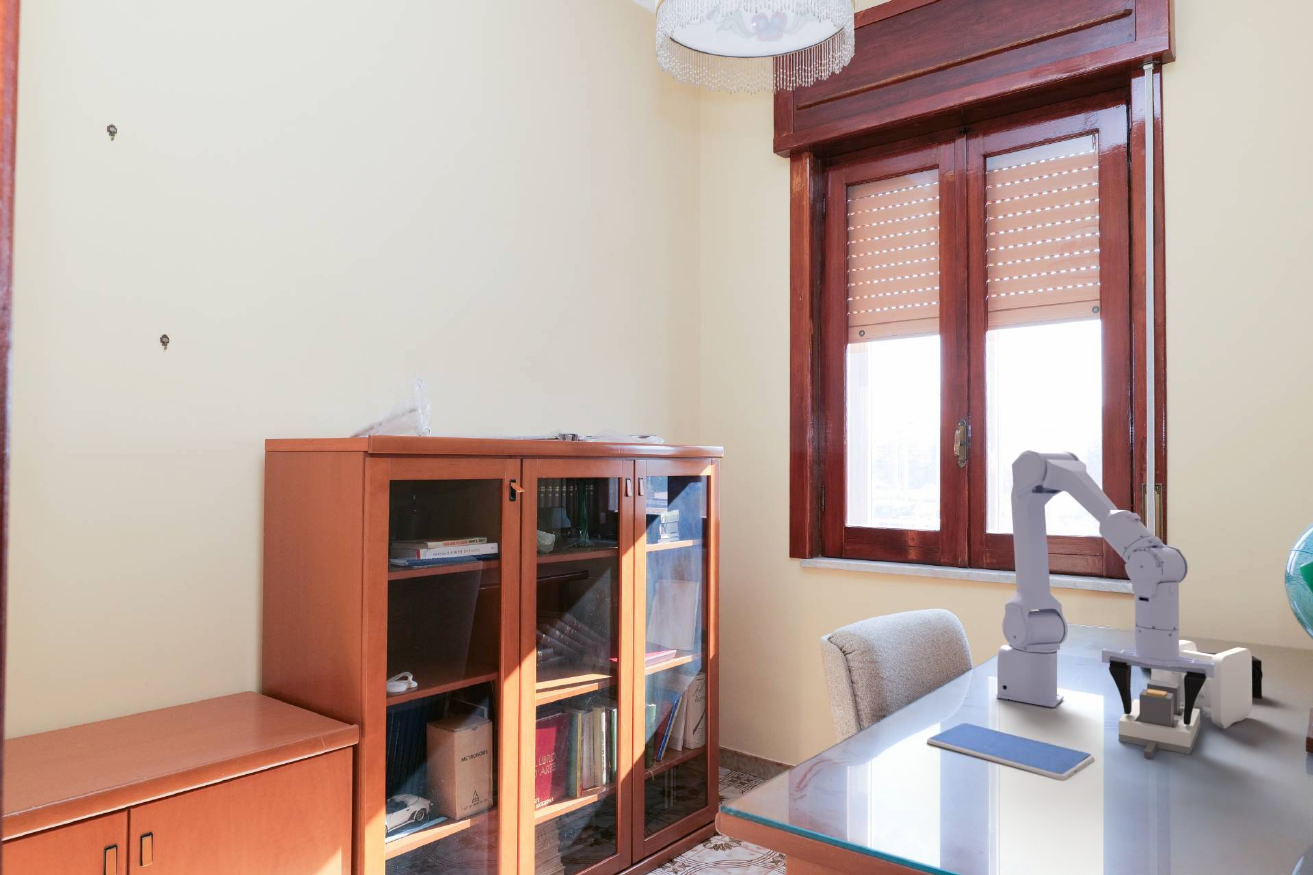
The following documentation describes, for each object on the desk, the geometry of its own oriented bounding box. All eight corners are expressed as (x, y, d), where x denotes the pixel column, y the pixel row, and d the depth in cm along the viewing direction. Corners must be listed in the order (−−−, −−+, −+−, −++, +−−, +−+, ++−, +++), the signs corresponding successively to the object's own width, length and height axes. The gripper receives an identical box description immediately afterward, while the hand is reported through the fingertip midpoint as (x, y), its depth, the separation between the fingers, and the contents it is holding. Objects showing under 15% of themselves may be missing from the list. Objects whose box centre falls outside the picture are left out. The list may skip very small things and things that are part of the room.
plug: (1139, 734, 123) (1139, 692, 123) (1143, 728, 126) (1143, 686, 126) (1170, 740, 121) (1170, 696, 121) (1173, 733, 124) (1173, 691, 124)
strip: (1185, 765, 113) (1185, 713, 113) (1111, 750, 118) (1111, 701, 119) (1200, 728, 130) (1199, 683, 130) (1134, 716, 136) (1134, 674, 136)
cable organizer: (1220, 733, 128) (1220, 658, 128) (1147, 716, 136) (1147, 646, 137) (1253, 717, 137) (1253, 647, 138) (1183, 702, 146) (1182, 636, 146)
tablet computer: (1096, 762, 115) (1096, 753, 115) (1063, 785, 106) (1063, 774, 106) (963, 729, 129) (963, 721, 129) (924, 747, 120) (924, 738, 120)
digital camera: (1198, 694, 151) (1198, 656, 152) (1189, 687, 157) (1189, 650, 157) (1264, 700, 148) (1264, 661, 149) (1253, 693, 153) (1252, 655, 154)
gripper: (1098, 623, 125) (1098, 713, 125) (1212, 637, 117) (1213, 734, 116) (1106, 618, 131) (1106, 704, 130) (1216, 630, 122) (1216, 722, 122)
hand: (1157, 717), depth 124 cm, fingers open, 7 cm apart
